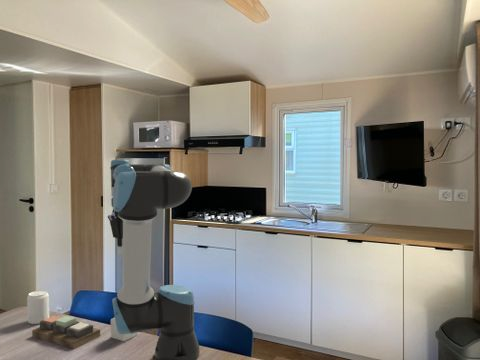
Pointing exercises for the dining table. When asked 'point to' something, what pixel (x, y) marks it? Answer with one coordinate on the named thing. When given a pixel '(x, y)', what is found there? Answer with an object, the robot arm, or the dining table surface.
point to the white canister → (37, 306)
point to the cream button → (79, 326)
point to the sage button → (65, 321)
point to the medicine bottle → (117, 335)
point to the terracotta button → (51, 319)
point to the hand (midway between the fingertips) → (122, 253)
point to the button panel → (65, 334)
